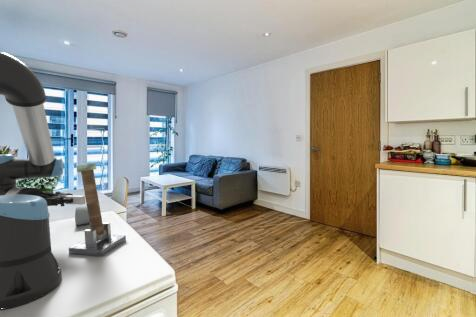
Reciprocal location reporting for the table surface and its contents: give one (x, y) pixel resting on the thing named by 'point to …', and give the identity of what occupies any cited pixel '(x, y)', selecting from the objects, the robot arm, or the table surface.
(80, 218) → the ceramic mug
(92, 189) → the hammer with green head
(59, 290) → the table surface
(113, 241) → the stand base
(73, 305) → the table surface
